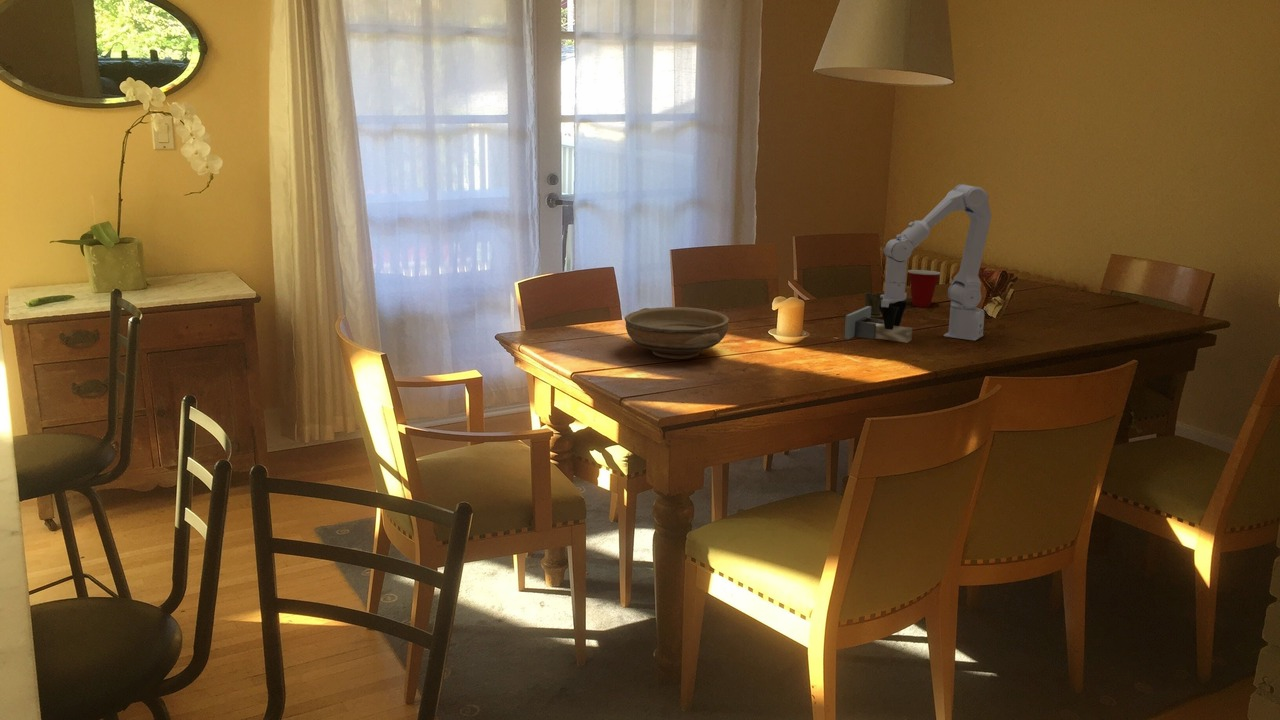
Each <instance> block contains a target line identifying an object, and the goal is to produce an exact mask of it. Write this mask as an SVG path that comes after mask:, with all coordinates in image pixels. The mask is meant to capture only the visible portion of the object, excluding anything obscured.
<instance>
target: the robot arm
mask: <svg viewBox="0 0 1280 720" xmlns="http://www.w3.org/2000/svg"><path fill="white" fill-rule="evenodd" d="M989 198H990V196H989V194H988V193H987V192H986V191H985V189H984V188H983V187H980V186H973V185H968V184H966V183H960V184H958V185H955V187H954V188H953V189H951V190H949V192H947V194H946V196H945V197H944V198H943V199H942V200H941V201H940V202H939V203H938V204H936V206H935V207H934V208H933V209H932V210H931V211H930V212H928V214H927V215H926V216H924V218H923V219H921V220H914V221H910V222H909V223H908V227H907V228H905V229H904V230H903V231H902V232H901V233H900V234H898V233H897V235H896V236H895V237H896V238H892V239H890V240H888V242H887V243H886V244H885V247H884V248H883V254H884V255H885V257H886V261H885V262H886V264H885V275H884V276H885V280H884V292H883V293H884V294H882V295H880V298H883V300H881V304H880V305H879V309H880V311H881V313H882V314H881V317H882V320H884V326H885V329H890V330H892V329H893V327H894V326H901V323H902V322H901V321H902V318H903V316H904V313H905V310H906V309H907V307H908V305H909V301H905V300H907V294H908V292H906V282H907V281H906V279H907V267H908V265H907V263H908V259H910V257H911V256H912V254H913V253H912V252H913V250H914V249H915V248H916V247H918V246H919V245H920V244H921V243H922V242H923V241H925V240H926V239H927V238H928V237H929V236H930V232H931V229H932V228H933V227H934V226H936V225H937V224H938V223H940V222H941V221H942V220H943V219H944V218H946V217H947V216H948V215H950V213H952V212H957V211H964V212H965V214H967V216H968V217H969V220H970V221H969V226H968V230H967V234H966V239H965V243H964V244H965V245H964V248H963V252H962V257H961V262H960V266H959V271H958V272H957V274H956V275H954V276H953V279H952V283H951V284H950V285H949V286H948V289H947V296H948V299H949V300H950V308H949V322H948V332H946V333H945V334H943V337H946V338H952V339H953V338H954V339H960V340H968V341H977V340H979V339H981V338H982V337H983V336H984V326H985V310H984V309H982V308H979V307H977V306H979V304H980V302H981V301H982V292H981V288H982V282H981V279H980V277H979V274H980V269H981V264H982V259H983V256H984V251H985V248H986V247H985V246H986V242H987V238H988V233H989V228H990V225H991V221H992V211H991V206H990V202H989Z"/></svg>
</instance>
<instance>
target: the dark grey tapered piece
mask: <svg viewBox="0 0 1280 720" xmlns="http://www.w3.org/2000/svg"><path fill="white" fill-rule="evenodd" d="M882 294H884V292H882V291H881V292H877V291H876V293H875V294H874V293H873V292H870V291H868V292H865V293H864V304H865V305H864V307H867V306H871V318H874V319H882V313H881V311H880V309H879V305H880V304H881V300H883V298H880V295H882Z"/></svg>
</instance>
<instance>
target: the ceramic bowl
mask: <svg viewBox="0 0 1280 720" xmlns="http://www.w3.org/2000/svg"><path fill="white" fill-rule="evenodd" d="M624 321H625V330H626V332H627V335H628V336H629V339H631V340H632V342H634V343H636V344H637V345H638V346H640V347H642V348H645V349H648V350H650V351H652V354H653V355H654V356H656V357H659V358H664V359H671V360H673V359H675V360H680V359H681V360H682V359H683V360H685V359H690V358H691V359H692V358H695V357H698V356H699V355H700V354H701V352H702V351H705V350H707V349H710V348H712V347H714V346H716V345H718V344H719V343H720V342H721V341H722V340H723V339H724V338H725V337H726V335H727V333H728V329H729V322H730V319H729V317H728V316H727V315H726V314H724V313H723V312H722V313H721V312H719V311H715V310H711V309H706V308H698V307H697V308H696V307H686V306H685V307H682V306H673V307H672V306H670V307H669V306H668V307H666V306H665V307H654V308H653V307H652V308H650V307H649V308H648V307H646V308H641V309H639V310H635V311H633V312H630V313H628V314H627V315H626V316H625V317H624Z"/></svg>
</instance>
